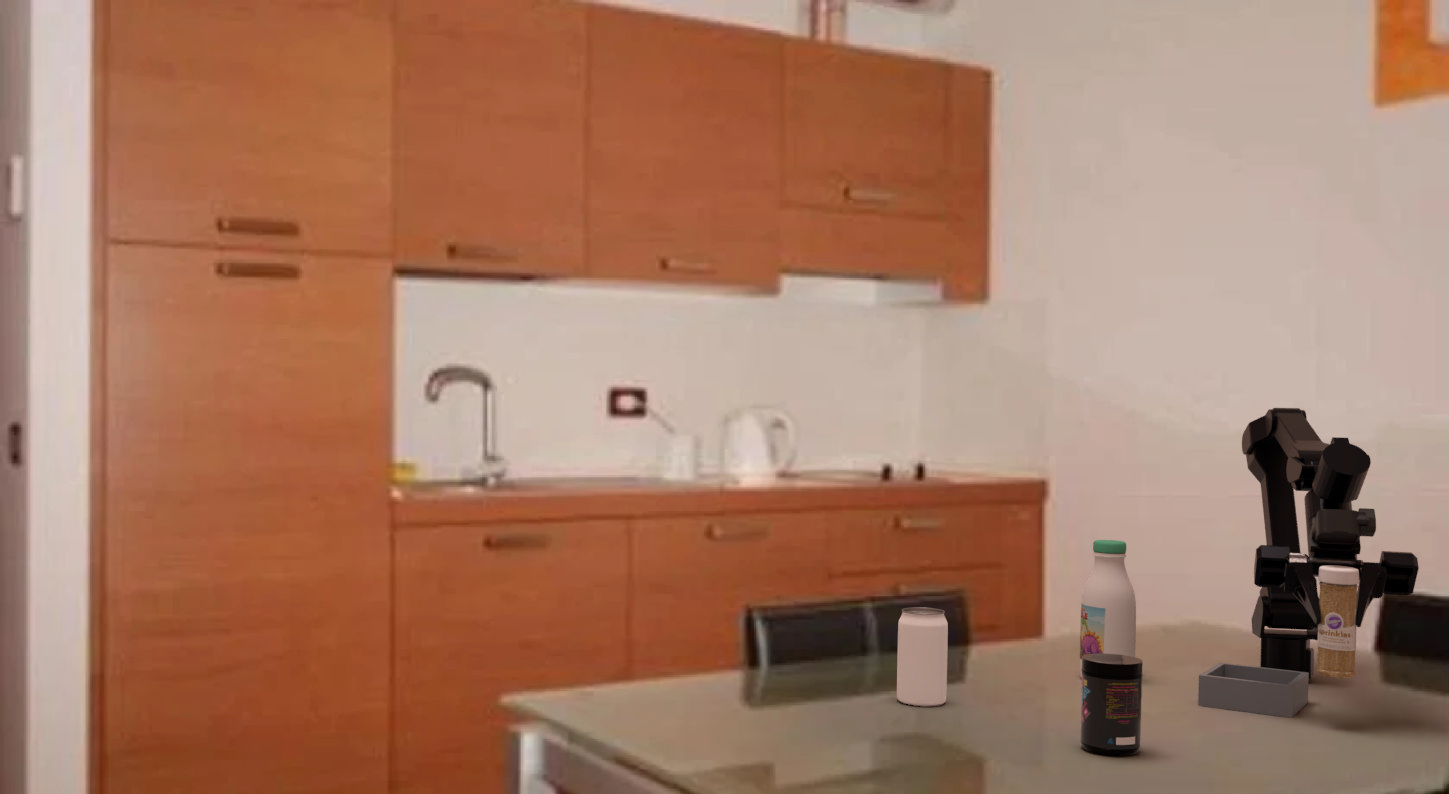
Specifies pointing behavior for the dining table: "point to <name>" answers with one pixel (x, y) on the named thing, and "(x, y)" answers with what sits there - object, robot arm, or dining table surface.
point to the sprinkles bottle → (1337, 621)
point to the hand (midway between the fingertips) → (1338, 623)
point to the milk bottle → (1108, 604)
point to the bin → (1253, 689)
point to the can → (922, 657)
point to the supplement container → (1111, 704)
